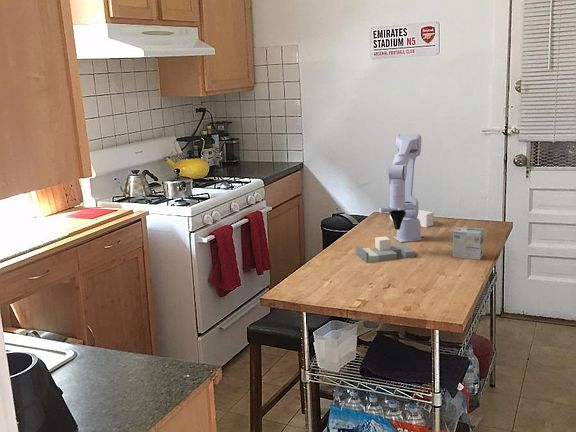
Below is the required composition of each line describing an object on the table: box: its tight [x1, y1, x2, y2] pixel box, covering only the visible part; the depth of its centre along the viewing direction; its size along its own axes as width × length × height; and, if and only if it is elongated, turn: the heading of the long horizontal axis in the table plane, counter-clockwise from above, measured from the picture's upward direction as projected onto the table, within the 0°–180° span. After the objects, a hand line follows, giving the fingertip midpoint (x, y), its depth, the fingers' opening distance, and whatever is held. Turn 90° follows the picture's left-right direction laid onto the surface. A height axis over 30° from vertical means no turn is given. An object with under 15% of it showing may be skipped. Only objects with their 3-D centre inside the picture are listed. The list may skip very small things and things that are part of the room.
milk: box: [389, 209, 435, 228], centre depth 306 cm, size 6×6×22 cm
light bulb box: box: [451, 226, 484, 261], centre depth 254 cm, size 11×7×11 cm, turn 65°
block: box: [374, 236, 391, 250], centre depth 261 cm, size 4×4×4 cm
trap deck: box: [355, 243, 416, 263], centre depth 259 cm, size 20×11×4 cm, turn 105°
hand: (397, 229), depth 261 cm, fingers closed
